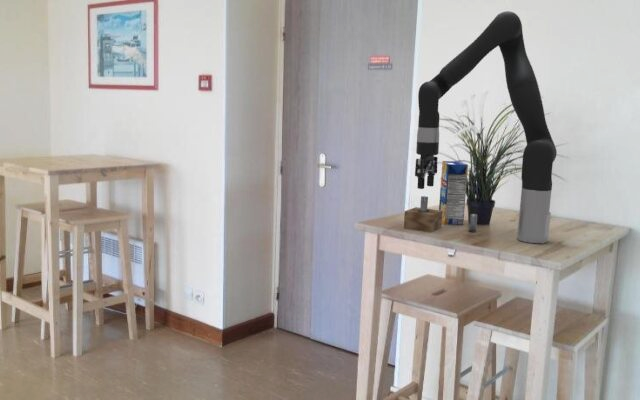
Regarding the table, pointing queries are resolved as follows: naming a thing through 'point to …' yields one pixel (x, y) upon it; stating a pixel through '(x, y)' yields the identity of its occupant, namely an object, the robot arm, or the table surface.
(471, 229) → the short pin
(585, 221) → the table surface
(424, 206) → the long pin
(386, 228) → the table surface
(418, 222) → the hole block
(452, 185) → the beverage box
